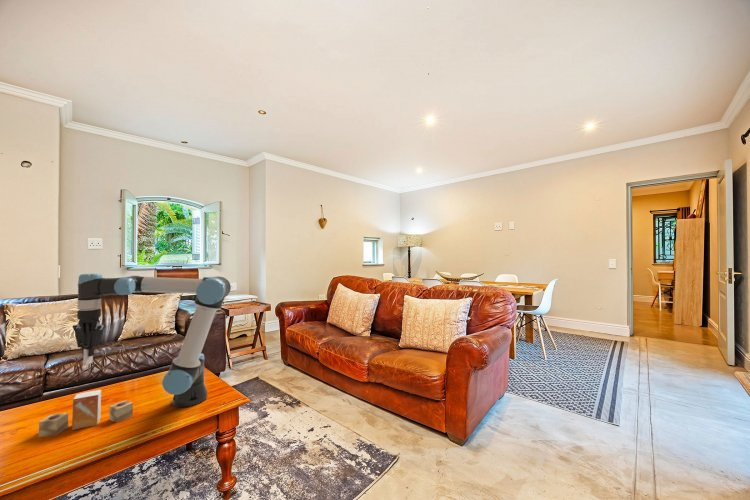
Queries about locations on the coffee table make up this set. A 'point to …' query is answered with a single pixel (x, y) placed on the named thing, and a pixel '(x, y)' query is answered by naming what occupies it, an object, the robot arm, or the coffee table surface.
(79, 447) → the coffee table surface
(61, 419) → the marked block
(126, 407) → the marked block
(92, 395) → the small box
